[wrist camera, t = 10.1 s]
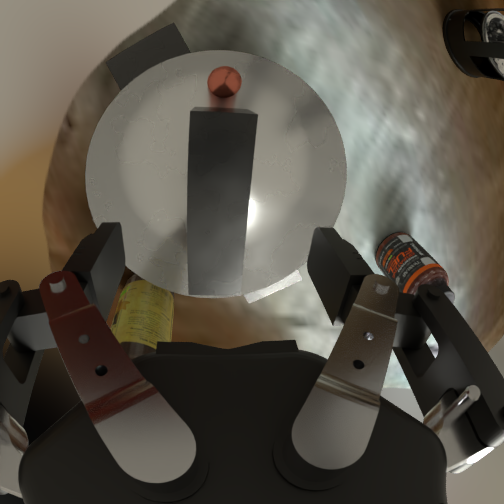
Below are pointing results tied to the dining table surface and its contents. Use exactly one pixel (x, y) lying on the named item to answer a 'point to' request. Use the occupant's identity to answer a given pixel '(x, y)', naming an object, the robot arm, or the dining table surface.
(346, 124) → the dining table surface
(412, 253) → the supplement bottle
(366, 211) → the dining table surface
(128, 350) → the sauce bottle
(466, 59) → the french press
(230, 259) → the cooker lid
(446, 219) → the dining table surface
